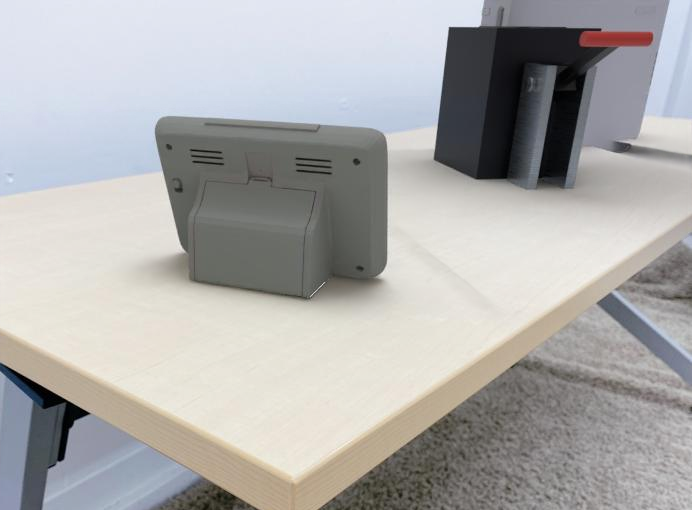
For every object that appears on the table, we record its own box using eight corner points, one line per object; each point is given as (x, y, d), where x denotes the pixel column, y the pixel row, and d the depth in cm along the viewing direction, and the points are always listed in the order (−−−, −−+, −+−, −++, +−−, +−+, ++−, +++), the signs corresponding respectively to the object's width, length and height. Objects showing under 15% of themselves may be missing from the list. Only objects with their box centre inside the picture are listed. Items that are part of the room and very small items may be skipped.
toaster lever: (655, 49, 60) (652, 21, 60) (588, 49, 59) (586, 21, 59) (578, 101, 71) (576, 78, 71) (521, 102, 70) (519, 78, 70)
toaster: (570, 188, 77) (602, 27, 70) (474, 191, 75) (497, 26, 69) (517, 168, 88) (540, 26, 81) (432, 169, 86) (448, 25, 80)
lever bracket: (582, 201, 72) (609, 65, 66) (516, 202, 71) (539, 66, 65) (555, 190, 76) (579, 63, 71) (494, 191, 75) (513, 63, 70)
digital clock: (398, 278, 49) (414, 120, 45) (337, 318, 43) (348, 137, 38) (213, 240, 58) (212, 104, 54) (138, 268, 51) (129, 115, 47)
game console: (456, 157, 94) (476, -9, 86) (601, 145, 105) (631, -4, 97) (486, 165, 89) (512, -11, 81) (635, 151, 100) (671, -6, 92)
